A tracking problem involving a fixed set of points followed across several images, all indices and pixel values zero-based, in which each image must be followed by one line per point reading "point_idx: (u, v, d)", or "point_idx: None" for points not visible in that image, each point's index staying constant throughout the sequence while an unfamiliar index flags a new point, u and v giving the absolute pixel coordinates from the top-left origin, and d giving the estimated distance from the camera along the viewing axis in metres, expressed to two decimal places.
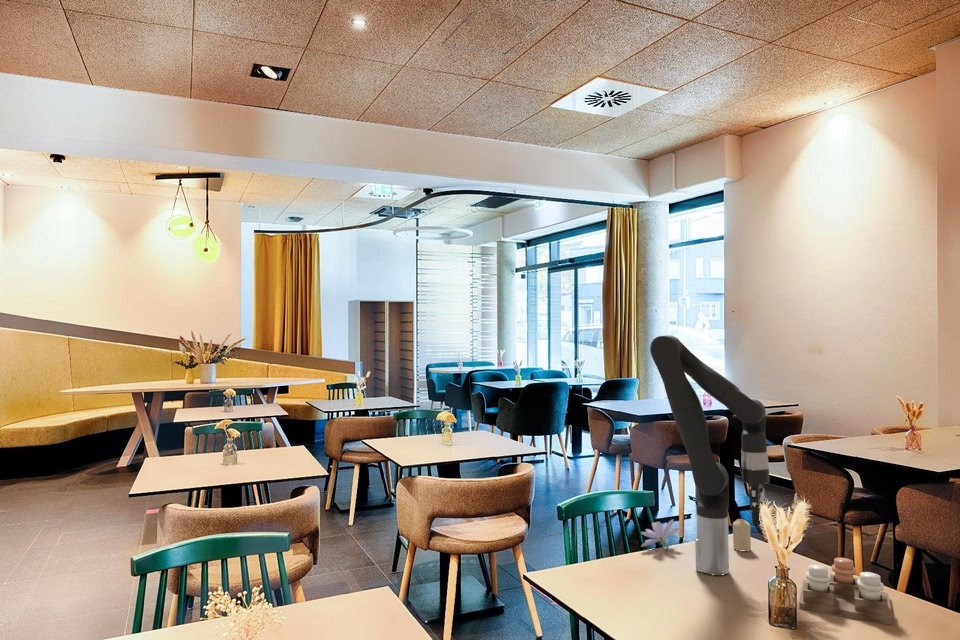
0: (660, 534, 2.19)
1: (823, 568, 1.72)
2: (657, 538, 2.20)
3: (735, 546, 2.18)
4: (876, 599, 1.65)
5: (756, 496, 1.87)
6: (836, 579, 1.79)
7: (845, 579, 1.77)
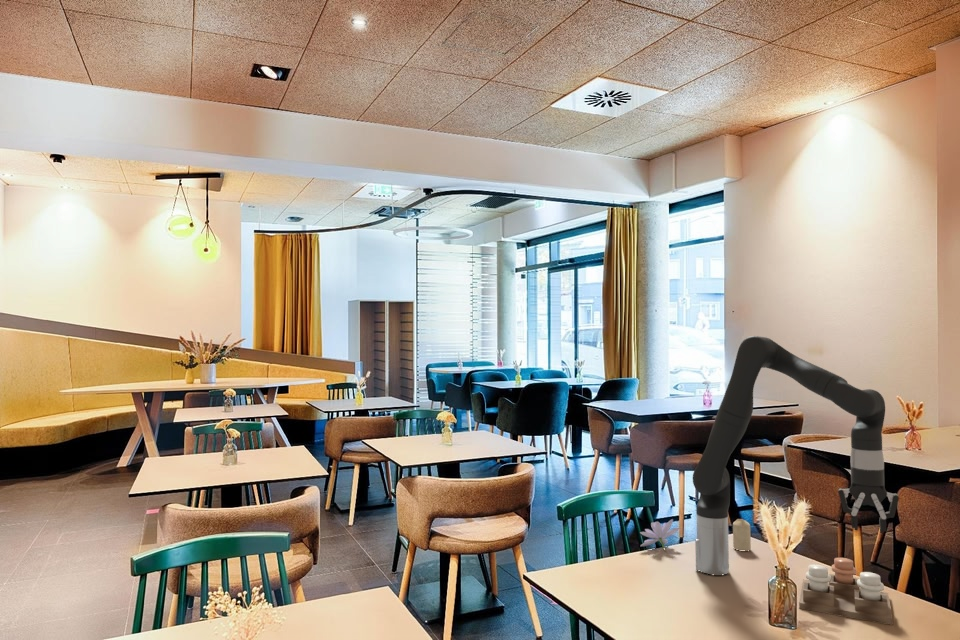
0: (659, 534, 2.19)
1: (823, 568, 1.72)
2: (656, 538, 2.20)
3: (735, 546, 2.18)
4: (876, 599, 1.65)
5: None
6: (836, 579, 1.79)
7: (845, 579, 1.77)
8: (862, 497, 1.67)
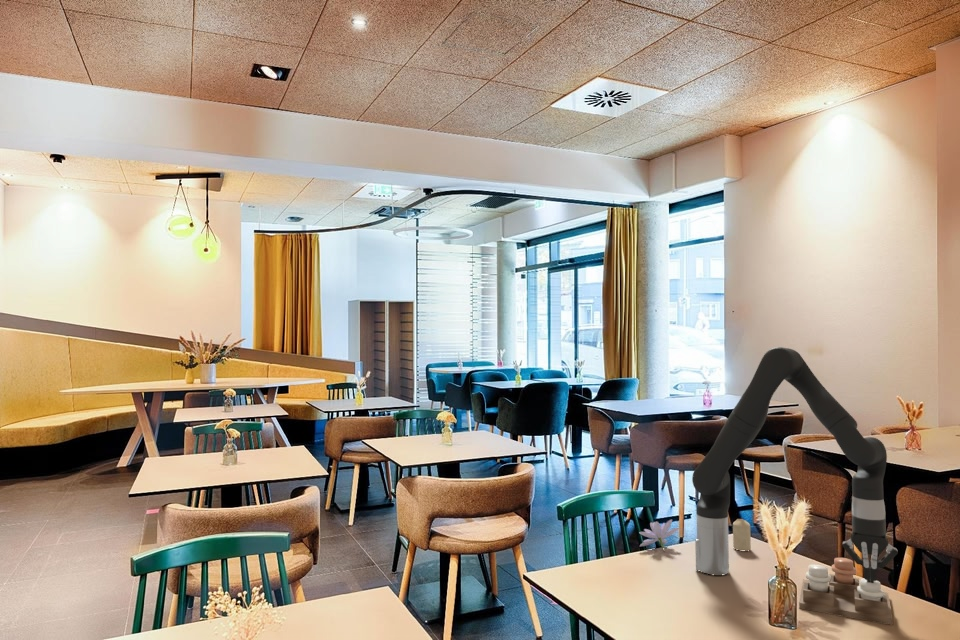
0: (658, 534, 2.19)
1: (823, 568, 1.72)
2: (655, 538, 2.20)
3: (735, 546, 2.18)
4: None
5: None
6: (836, 579, 1.79)
7: (845, 579, 1.77)
8: (865, 546, 1.67)
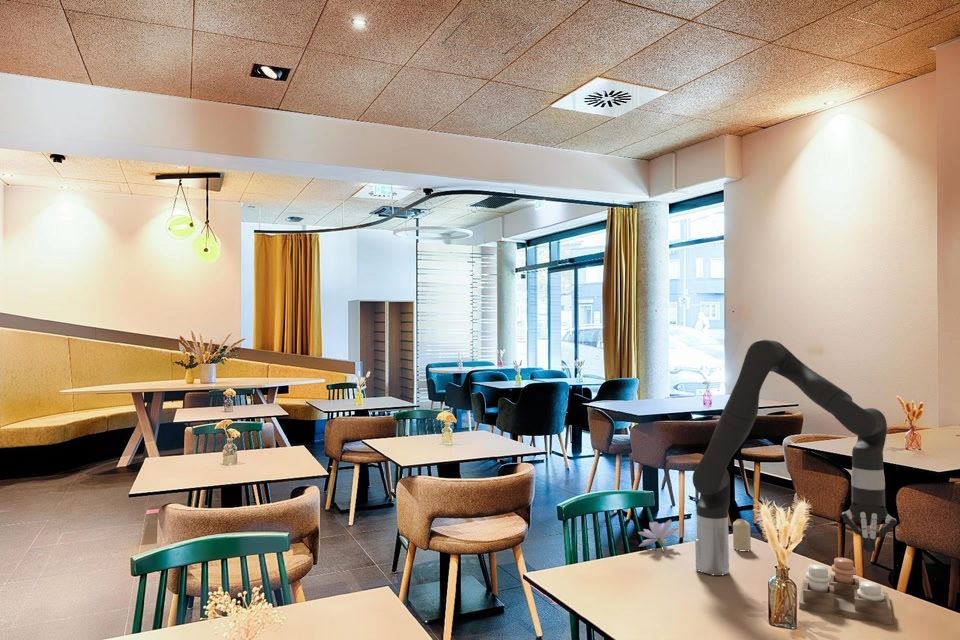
0: (658, 534, 2.19)
1: (823, 568, 1.72)
2: (655, 538, 2.20)
3: (735, 546, 2.18)
4: None
5: None
6: (836, 579, 1.79)
7: (845, 579, 1.77)
8: (864, 516, 1.67)
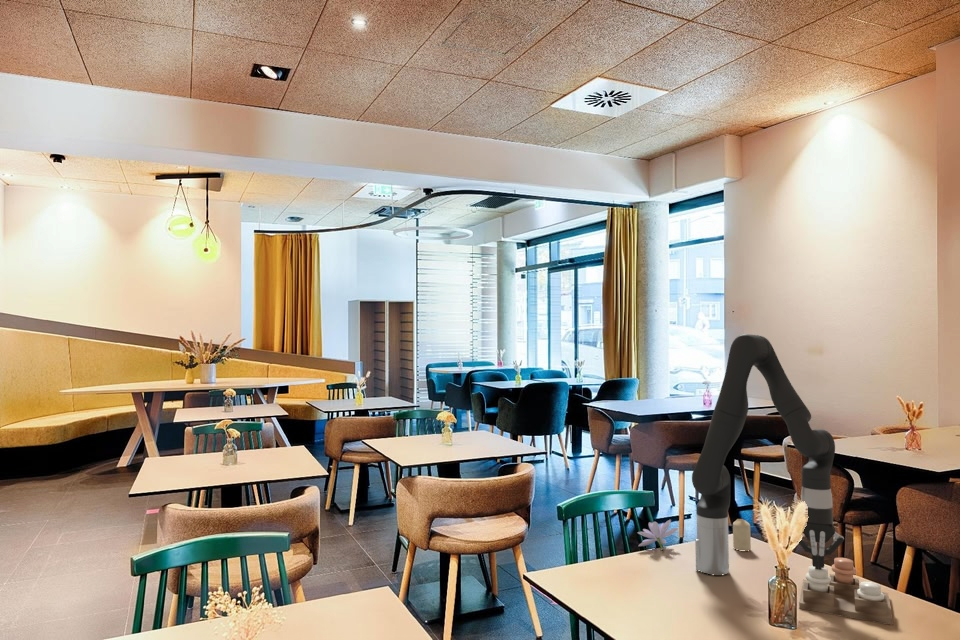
0: (657, 534, 2.19)
1: (823, 570, 1.72)
2: (654, 538, 2.20)
3: (735, 546, 2.18)
4: None
5: None
6: (836, 579, 1.79)
7: (845, 579, 1.77)
8: (813, 534, 1.73)
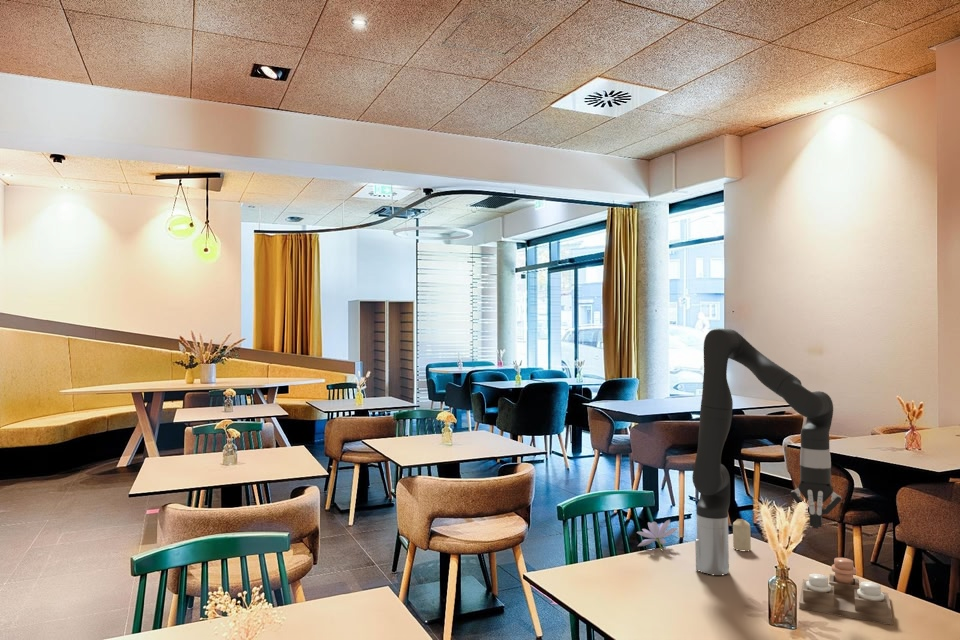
0: (656, 534, 2.19)
1: (823, 578, 1.72)
2: (653, 538, 2.20)
3: (735, 546, 2.18)
4: None
5: None
6: (836, 579, 1.79)
7: (845, 579, 1.77)
8: (811, 494, 1.75)
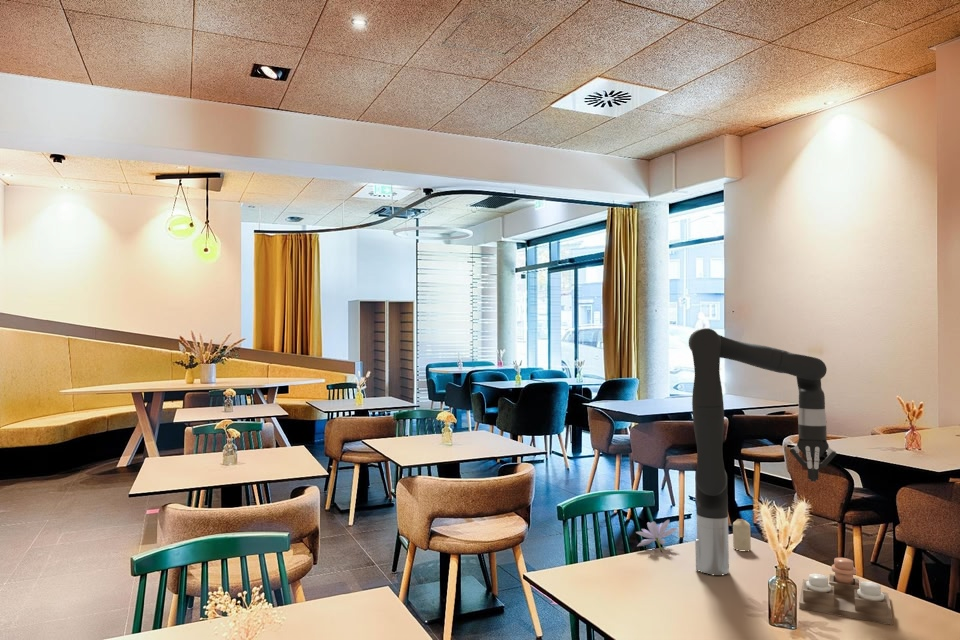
0: (655, 534, 2.19)
1: (823, 578, 1.72)
2: (653, 538, 2.20)
3: (735, 546, 2.18)
4: None
5: None
6: (836, 579, 1.79)
7: (845, 579, 1.77)
8: (808, 450, 1.92)
